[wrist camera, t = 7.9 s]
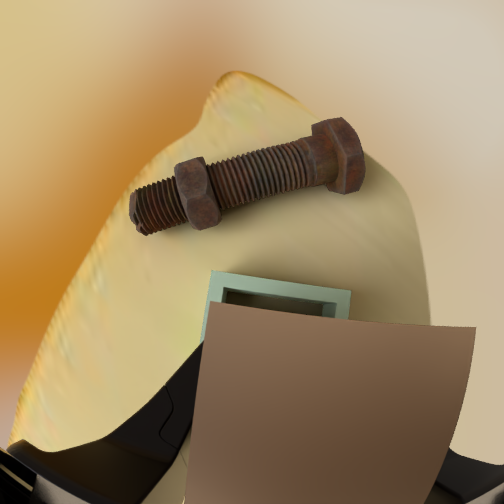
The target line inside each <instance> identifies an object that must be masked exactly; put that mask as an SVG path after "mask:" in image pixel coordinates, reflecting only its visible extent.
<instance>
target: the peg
mask: <svg viewBox="0 0 504 504" xmlns="http://www.w3.org/2000/svg"><path fill="white" fill-rule="evenodd" d="M475 333H476V327H448V326H447V327H446V326H425V325H408V324H394V323H381V322H369V321H358V320H347V319H338V318H328V317H319V316H311V315H303V314H295V313H287V312H280V311H273V310H266V309H259V308H252V307H246V306H239V305H233V304H227V303H221V302H215V301H210V305H209V311H208V317H207V324H206V330H205V337H204V343H203V350H202V357H201V364H200V371H199V378H198V385H197V392H196V400H195V408H194V416H193V424H192V432H191V441H190V450H189V459H188V469H187V479H186V490H185V502H184V504H424V502H425V500H426V498H427V496H428V494H429V492H430V490H431V488H432V486H433V484H434V482H435V480H436V478H437V475H438V473H439V471H440V469H441V466H442V464H443V461H444V459H445V456H446V454H447V451H448V448H449V446H450V443H451V440H452V437H453V434H454V431H455V427H456V425H457V422H458V418H459V415H460V411H461V407H462V404H463V400H464V395H465V392H466V387H467V382H468V378H469V373H470V367H471V362H472V355H473V349H474V341H475Z"/></svg>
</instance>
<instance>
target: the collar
mask: <svg viewBox="0 0 504 504" xmlns="http://www.w3.org/2000/svg"><path fill="white" fill-rule="evenodd" d="M227 291H231V292H238V293H244V294H251V295H257V296H264V297H271V298H278V299H285V300H292V301H300V302H307V303H315V304H323V310H322V317H328V318H338V319H347V320H348V316H349V308H350V299H351V290H343V289H336V288H328V287H321V286H314V285H306V284H299V283H292V282H285V281H278V280H272V279H265V278H258V277H252V276H245V275H239V274H232V273H226V272H220V271H214V270H212V271H211V277H210V283H209V289H208V295H207V301H206V307H205V313H204V320H203V326H202V333H201V339H200V344H201V343H202V341H203V340H204V337H205V330H206V324H207V317H208V311H209V305H210V301H215V302H221V303H226V297H227Z"/></svg>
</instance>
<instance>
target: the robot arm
mask: <svg viewBox="0 0 504 504" xmlns="http://www.w3.org/2000/svg"><path fill="white" fill-rule="evenodd" d="M203 343H204V340H203V341H202V343H201V344H200V345H199V346H198V347H197V348H196V349H195V351H194V352H193V353H192V354H191V355H190V356H189V357H188V359H187V360H186V361H185V362H184V363H183V364H182V365H181V366H180V368H179V369H178V370H177V371H176V372H175V373H174V374H173V376H172V377H171V378H170V379H169V380H168V381H167V382H166V383H165V385H164V386H163V387H162V388H161V389H160V390H159V391H158V392H157V393H156V394H155V395H154V396H153V397H152V398H151V399H150V401H149V402H148V403H146V404H145V405H144V406H143V407H142V408H141V409H140V410H139V411H137V412H136V413H135V414H134V415H133V416H131V417H130V418H129V419H128V420H126V421H125V422H124V423H123V424H122V425H120V426H119V427H118V428H117V429H115V430H114V431H113V432H111V433H110V434H108V435H107V436H105V437H103V438H101V439H99V440H96V441H93V442H90V443H87V444H83V445H80V446H76V447H73V448H69V449H66V450H62V451H58V452H45V451H42V450H40V449H38V448H36V447H35V446H33V445H32V444H30V443H29V442H27V441H26V440H23V439H22V440H20V441H18V442H16V443H14V444H12V445H10V446H9V447H8V448H7V451H5V450H3V449H2V448H0V504H182V503H183V500H184V497H185V490H186V479H187V469H188V459H189V450H190V441H191V432H192V424H193V416H194V408H195V400H196V392H197V385H198V378H199V371H200V364H201V357H202V350H203ZM424 504H504V465H494V464H489V463H486V462H482V461H478V460H475V459H471V458H467V457H465V456H461V455H459V454H457V453H455V452H454V451H452V450H451V449H450V448H448V451H447V454H446V456H445V459H444V461H443V464H442V466H441V469H440V471H439V473H438V475H437V478H436V480H435V482H434V484H433V486H432V488H431V490H430V492H429V494H428V496H427V498H426V500H425V502H424Z"/></svg>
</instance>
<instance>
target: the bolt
mask: <svg viewBox="0 0 504 504" xmlns="http://www.w3.org/2000/svg"><path fill="white" fill-rule="evenodd" d="M311 126H312V136H308V137H304V138H300V139H298V140H296V141H295V142H294V141H292V142H290V143H286V144H281V145H276V147H275V146H272V147H271V148H270V147H267V148H266V149H264V148H262V149H261V150H259V149H258V150H256V152H255V151H252V152H251V154H250V153H249V152H247V154H246V155H245V154H242V156H241V157H240V156H239V155H237V157H236V158H234V157H232V159H231V160H230V159H228V158H227V160H226V162H225V161H224V160H222V162H221V163H220V162H218V161H217V163H216V165H215V164H214V163H212V164H211V166H210V165H208V164H207V166H206V163H205V160H204V158H203V157H197V158H194V159H191V160H188V161H185V162H182V163H179V164H177V165H176V166H175V167H174V172H175V177H174V176H172V177H171V179H170V178H168V177H167V180H164V179H162V182H160V181H157V184H156V183H152V185H150V184H148V185H147V187H146V186H143V188H138V190H137V189H135V191H134V193H131V195H130V204H129V216H130V219H131V221H132V222H133V223H134V224H135V225H136V230H137V231H138V232H140V233H142V234H143V235H145V236H147V235H148V234H153V232H155V233H156V232H157V231H161V230H162V228H163V229H164V230H165V229H166V228H167V227H168V228H170V227H171V226H175V225H176V223H177V224H178V225H179V224H180V223H181V222H182V223H185V221H186V220H187V221H189V222H190V224H191V225H192V227H193V228H195V229H197V230H203V229H206V228H209V227H212V226H215V225H217V224H219V223H220V222H221V220H222V217H221V213H220V208H221V209H222V210H224V209H225V207H227V208H228V209H229V208H230V205H231V206H232V207H234V206H235V204H237V205H238V206H239V205H240V202H241V203H242V204H245V201H247V202H248V203H249V202H250V200H252V201H255V198H256V199H258V200H260V197H262V198H265V195H266V196H267V197H269V196H270V194H271V195H272V196H274V195H275V193H276V194H280V192H282V193H284V192H285V191H286V192H289V191H290V190H294V189H299V187H300V188H303V187H304V186H305V187H308V186H317V185H321V184H325V183H326V185H327V188H328V190H329V191H333V192H337V193H341V194H344V195H345V194H349V193H352V192H356V191H359V189H360V187H361V185H362V183H363V180H364V177H365V161H364V154H363V150H362V147H361V143H360V140H359V137H358V135H357V133H356V132H355V130H354V129H353V128H352V127H351V126H350V124H349V123H348V122H346V121H345V120H344V119H343V118H342V117H340V118H333V119H327V120H324V121H321V122H319V123H316V124H313V125H311Z"/></svg>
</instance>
